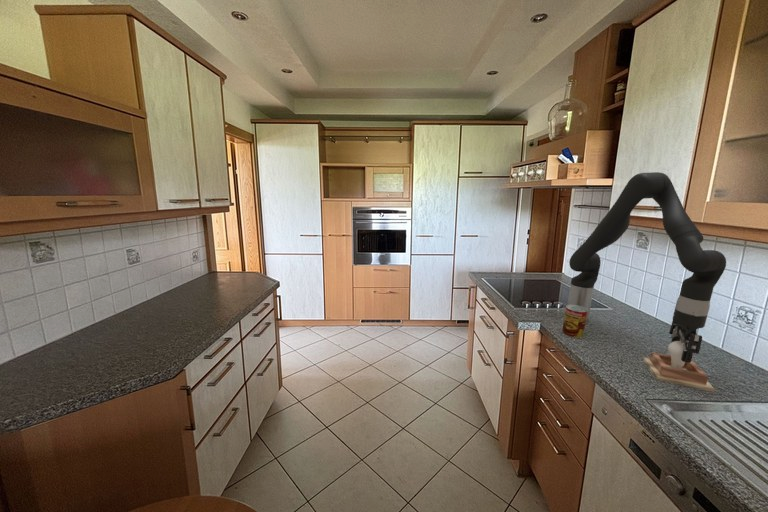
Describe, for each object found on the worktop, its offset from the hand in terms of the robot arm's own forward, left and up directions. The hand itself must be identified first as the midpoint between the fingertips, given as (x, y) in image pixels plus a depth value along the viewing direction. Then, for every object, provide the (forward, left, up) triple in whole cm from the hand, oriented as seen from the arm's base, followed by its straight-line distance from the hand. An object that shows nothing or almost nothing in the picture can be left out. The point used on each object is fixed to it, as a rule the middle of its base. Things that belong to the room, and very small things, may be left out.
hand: (679, 355), depth 101 cm
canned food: (-19, -28, -7) cm, 35 cm away
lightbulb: (0, 0, -6) cm, 6 cm away
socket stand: (0, 0, -7) cm, 7 cm away
